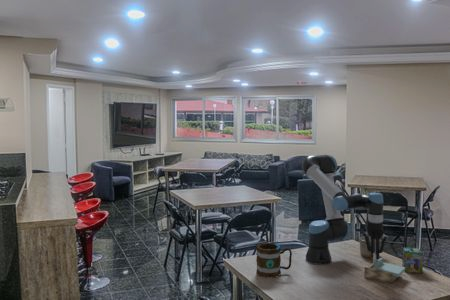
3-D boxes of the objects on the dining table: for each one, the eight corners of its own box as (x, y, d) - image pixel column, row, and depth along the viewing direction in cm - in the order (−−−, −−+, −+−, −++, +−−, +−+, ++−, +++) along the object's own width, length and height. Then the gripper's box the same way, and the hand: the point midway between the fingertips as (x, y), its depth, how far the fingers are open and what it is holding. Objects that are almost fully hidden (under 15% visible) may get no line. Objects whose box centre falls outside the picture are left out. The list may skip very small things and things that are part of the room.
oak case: (364, 277, 207) (364, 267, 207) (373, 269, 218) (373, 260, 217) (391, 283, 198) (391, 273, 198) (399, 275, 209) (399, 265, 208)
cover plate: (372, 271, 205) (372, 263, 205) (380, 264, 214) (380, 257, 214) (398, 276, 197) (398, 268, 196) (405, 270, 206) (405, 262, 205)
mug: (257, 277, 207) (256, 250, 206) (255, 268, 221) (255, 242, 220) (293, 277, 207) (293, 250, 206) (290, 268, 220) (290, 242, 219)
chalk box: (422, 273, 211) (423, 247, 210) (404, 272, 214) (404, 245, 213) (419, 267, 220) (419, 242, 219) (401, 266, 223) (402, 241, 222)
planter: (357, 251, 249) (357, 235, 248) (377, 252, 247) (377, 236, 246) (361, 258, 236) (361, 241, 236) (382, 259, 235) (383, 242, 234)
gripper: (361, 221, 210) (360, 263, 211) (385, 224, 201) (385, 269, 203) (366, 218, 215) (365, 260, 217) (390, 222, 207) (389, 265, 208)
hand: (375, 264), depth 210 cm, fingers closed
